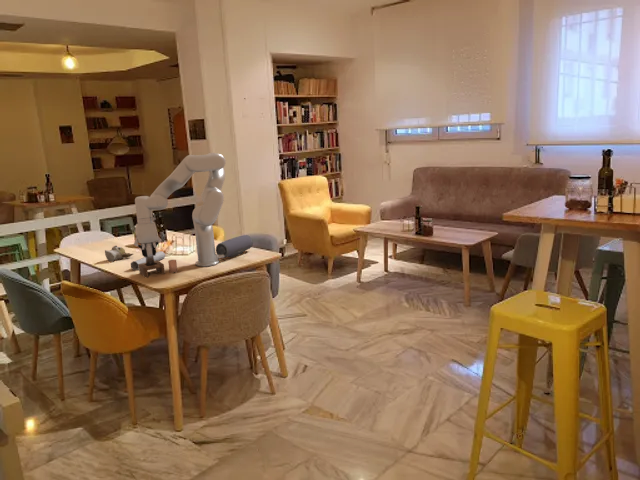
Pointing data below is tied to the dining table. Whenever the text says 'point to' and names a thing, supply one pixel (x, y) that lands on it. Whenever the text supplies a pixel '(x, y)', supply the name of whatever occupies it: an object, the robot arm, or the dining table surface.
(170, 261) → the clay pin short
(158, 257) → the tube
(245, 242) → the bluetooth speaker
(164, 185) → the robot arm
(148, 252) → the steel pin long
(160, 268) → the walnut bridge
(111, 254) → the ceramic sculpture
